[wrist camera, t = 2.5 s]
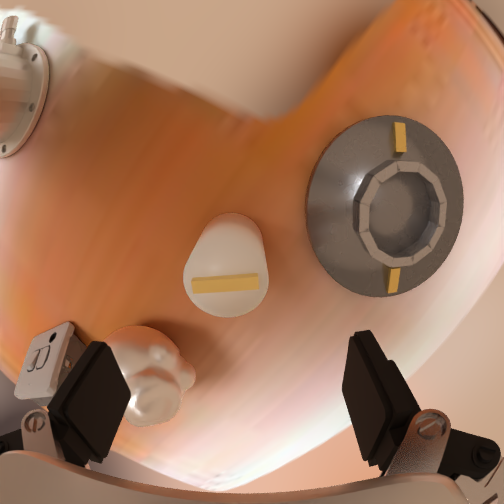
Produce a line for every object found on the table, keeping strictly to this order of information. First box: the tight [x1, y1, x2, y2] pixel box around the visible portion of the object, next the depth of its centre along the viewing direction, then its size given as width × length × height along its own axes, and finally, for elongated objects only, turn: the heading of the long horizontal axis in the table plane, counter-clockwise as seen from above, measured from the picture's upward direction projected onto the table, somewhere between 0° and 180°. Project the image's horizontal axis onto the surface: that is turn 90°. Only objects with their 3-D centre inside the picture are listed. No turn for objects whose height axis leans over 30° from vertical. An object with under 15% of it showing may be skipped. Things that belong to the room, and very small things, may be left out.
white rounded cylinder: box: [183, 213, 269, 318], centre depth 19 cm, size 5×5×8 cm
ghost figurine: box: [103, 326, 196, 427], centre depth 22 cm, size 9×10×10 cm
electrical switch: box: [14, 322, 87, 406], centre depth 23 cm, size 9×5×9 cm, turn 114°
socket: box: [305, 115, 464, 297], centre depth 21 cm, size 16×16×2 cm
